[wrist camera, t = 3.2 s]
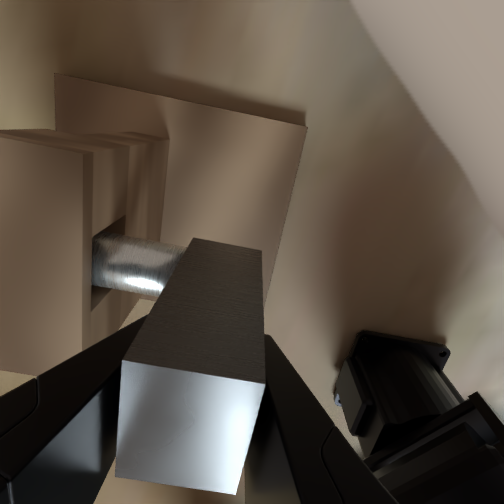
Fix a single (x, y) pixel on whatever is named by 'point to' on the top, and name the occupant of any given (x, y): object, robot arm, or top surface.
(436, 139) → the top surface
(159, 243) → the shaft
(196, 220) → the bearing stand
